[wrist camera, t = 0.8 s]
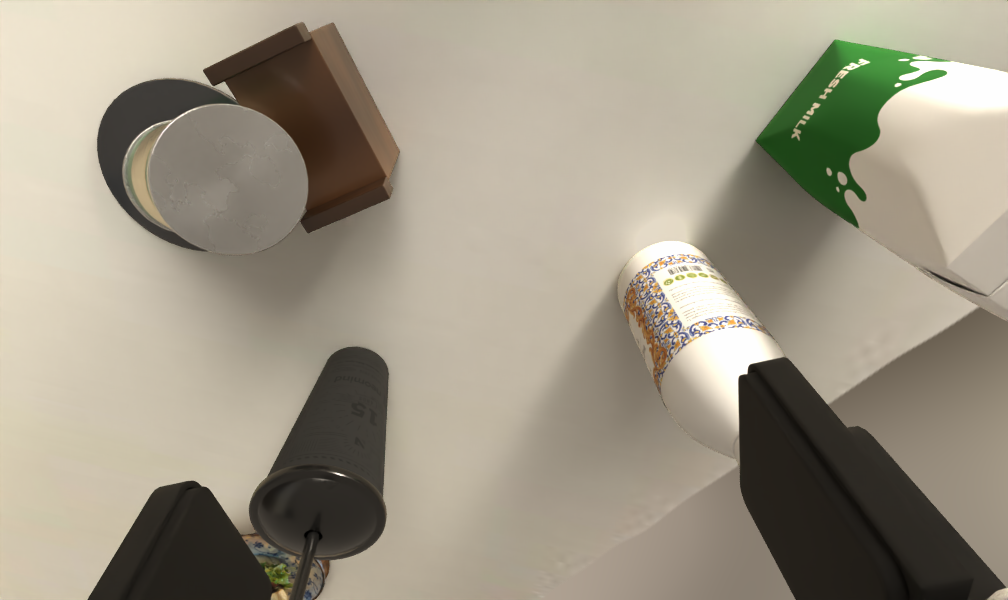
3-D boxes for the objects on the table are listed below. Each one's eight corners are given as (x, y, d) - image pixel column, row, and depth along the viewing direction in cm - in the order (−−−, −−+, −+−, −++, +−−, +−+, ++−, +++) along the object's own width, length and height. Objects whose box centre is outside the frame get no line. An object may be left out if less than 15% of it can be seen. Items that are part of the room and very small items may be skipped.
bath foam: (601, 262, 41) (698, 479, 24) (695, 222, 40) (869, 419, 23) (632, 335, 44) (737, 571, 27) (720, 299, 43) (888, 523, 26)
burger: (298, 506, 52) (273, 584, 45) (349, 583, 58) (334, 661, 51) (175, 535, 53) (135, 614, 46) (238, 607, 59) (210, 687, 52)
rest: (252, 50, 33) (201, 70, 27) (328, 12, 32) (295, 24, 26) (334, 189, 37) (307, 233, 31) (403, 158, 37) (390, 198, 30)
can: (131, 135, 35) (-25, 213, 24) (304, 51, 33) (221, 95, 22) (201, 228, 38) (91, 335, 27) (362, 156, 36) (315, 241, 25)
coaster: (58, 123, 34) (55, 124, 34) (214, 46, 33) (212, 46, 32) (178, 273, 40) (176, 275, 39) (318, 212, 38) (317, 214, 38)
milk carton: (830, 209, 40) (1106, 396, 23) (733, 144, 37) (962, 300, 20) (933, 94, 36) (1355, 213, 19) (833, 13, 34) (1220, 66, 16)
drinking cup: (385, 421, 47) (338, 684, 30) (294, 391, 45) (186, 654, 28) (422, 353, 44) (393, 603, 27) (326, 316, 42) (226, 562, 25)
